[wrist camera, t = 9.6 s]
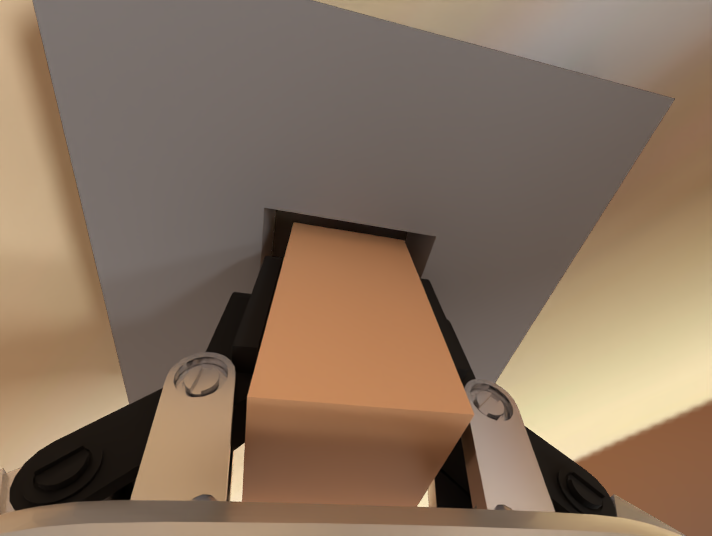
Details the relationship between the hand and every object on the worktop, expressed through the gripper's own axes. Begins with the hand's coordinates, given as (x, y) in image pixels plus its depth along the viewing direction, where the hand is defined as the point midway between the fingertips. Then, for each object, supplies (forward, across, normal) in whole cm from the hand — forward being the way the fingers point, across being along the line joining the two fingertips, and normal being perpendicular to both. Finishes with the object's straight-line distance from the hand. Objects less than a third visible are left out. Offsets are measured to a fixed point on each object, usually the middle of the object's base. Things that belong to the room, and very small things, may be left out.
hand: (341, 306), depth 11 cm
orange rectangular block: (+2, 0, 0) cm, 2 cm away
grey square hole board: (+4, 0, 0) cm, 4 cm away
